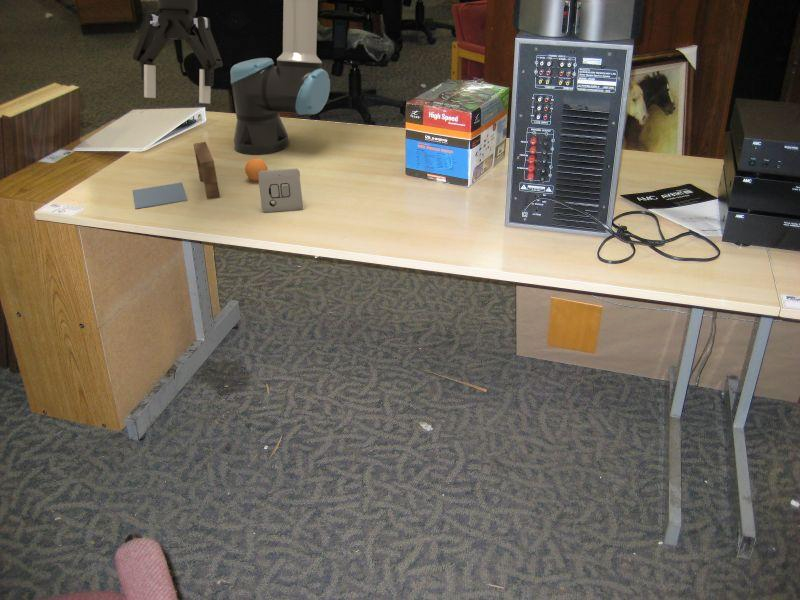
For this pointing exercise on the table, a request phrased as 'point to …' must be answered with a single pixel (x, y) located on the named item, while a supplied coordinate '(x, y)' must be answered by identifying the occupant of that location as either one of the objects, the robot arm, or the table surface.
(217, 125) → the table surface
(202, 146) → the brown bridge block
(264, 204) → the electrical switch
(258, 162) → the ball
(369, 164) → the table surface
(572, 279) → the table surface
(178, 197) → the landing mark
